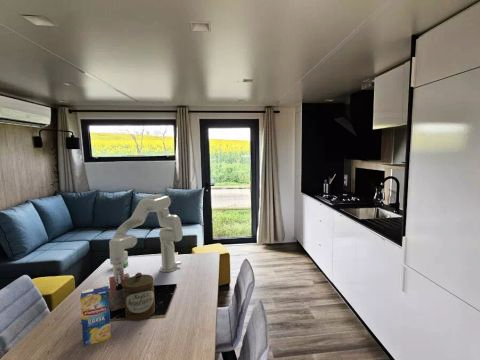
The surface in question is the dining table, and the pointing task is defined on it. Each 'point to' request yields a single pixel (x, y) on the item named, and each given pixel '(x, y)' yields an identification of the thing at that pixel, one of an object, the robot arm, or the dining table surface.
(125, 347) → the dining table surface
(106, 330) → the beverage box
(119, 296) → the shelf
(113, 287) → the salmon red block
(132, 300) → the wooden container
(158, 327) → the dining table surface
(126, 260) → the ink box
